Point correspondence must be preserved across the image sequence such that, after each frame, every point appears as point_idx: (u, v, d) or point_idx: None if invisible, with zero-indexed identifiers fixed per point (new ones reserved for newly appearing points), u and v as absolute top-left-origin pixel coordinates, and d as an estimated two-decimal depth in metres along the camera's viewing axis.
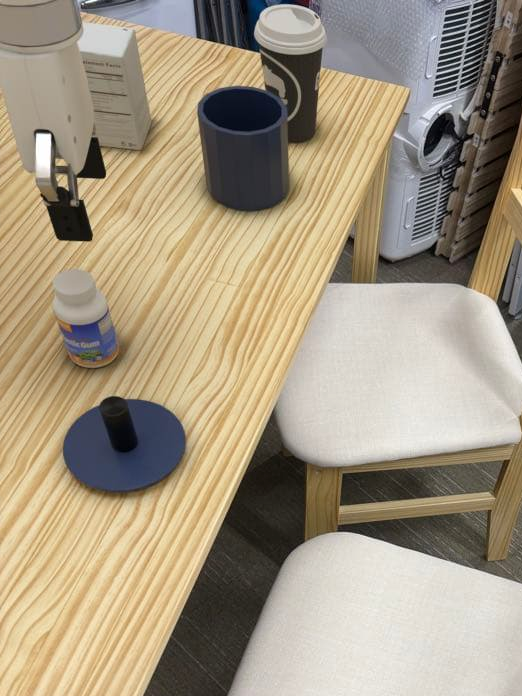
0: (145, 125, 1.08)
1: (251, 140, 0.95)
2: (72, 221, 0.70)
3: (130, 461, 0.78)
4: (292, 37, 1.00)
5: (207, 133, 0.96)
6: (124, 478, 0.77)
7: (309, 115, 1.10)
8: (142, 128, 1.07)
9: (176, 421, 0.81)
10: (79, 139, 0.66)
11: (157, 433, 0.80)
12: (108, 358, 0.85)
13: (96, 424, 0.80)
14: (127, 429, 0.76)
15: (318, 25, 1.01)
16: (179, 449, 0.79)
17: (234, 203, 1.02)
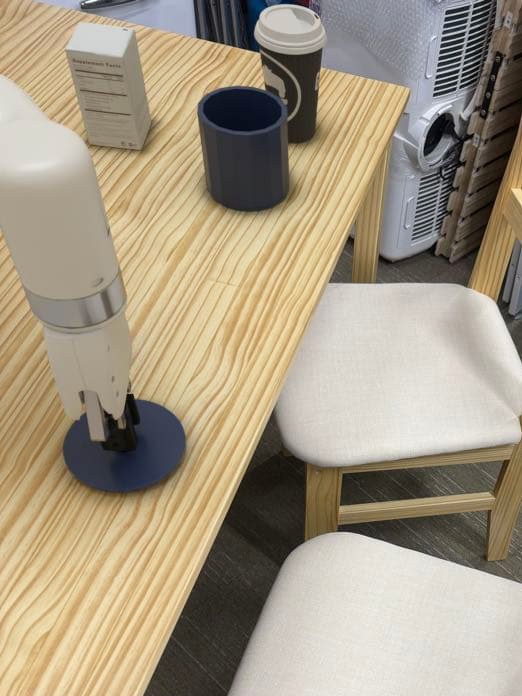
0: (145, 125, 1.08)
1: (251, 140, 0.95)
2: (119, 439, 0.75)
3: (130, 461, 0.78)
4: (292, 37, 1.00)
5: (207, 133, 0.96)
6: (124, 478, 0.77)
7: (309, 115, 1.10)
8: (142, 128, 1.07)
9: (176, 421, 0.81)
10: (121, 389, 0.68)
11: (157, 433, 0.80)
12: None
13: None
14: None
15: (318, 25, 1.01)
16: (179, 449, 0.79)
17: (234, 203, 1.02)
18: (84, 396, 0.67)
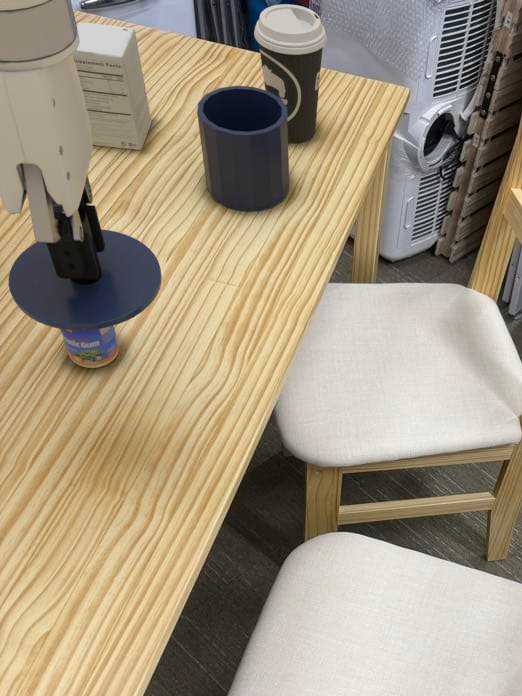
0: (145, 125, 1.08)
1: (251, 140, 0.95)
2: (75, 258, 0.60)
3: (91, 294, 0.63)
4: (292, 37, 1.00)
5: (207, 133, 0.96)
6: (83, 312, 0.62)
7: (309, 115, 1.10)
8: (142, 128, 1.07)
9: (150, 254, 0.66)
10: (74, 174, 0.54)
11: (126, 266, 0.65)
12: (108, 358, 0.85)
13: None
14: None
15: (318, 25, 1.01)
16: (153, 283, 0.65)
17: (234, 203, 1.02)
18: (25, 176, 0.52)
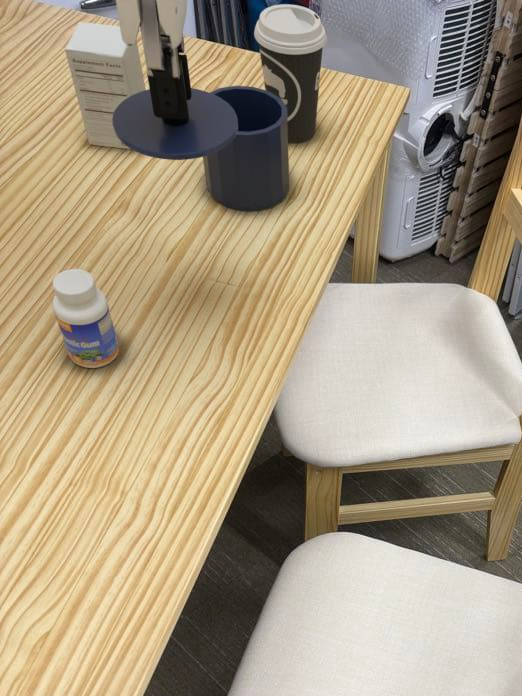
0: None
1: (251, 140, 0.95)
2: (172, 95, 0.72)
3: (181, 133, 0.75)
4: (292, 37, 1.00)
5: None
6: (176, 145, 0.74)
7: (309, 115, 1.10)
8: None
9: (228, 106, 0.79)
10: (179, 11, 0.66)
11: (208, 114, 0.78)
12: (108, 358, 0.85)
13: (146, 103, 0.77)
14: None
15: (318, 25, 1.01)
16: (232, 127, 0.77)
17: (234, 203, 1.02)
18: (142, 8, 0.64)
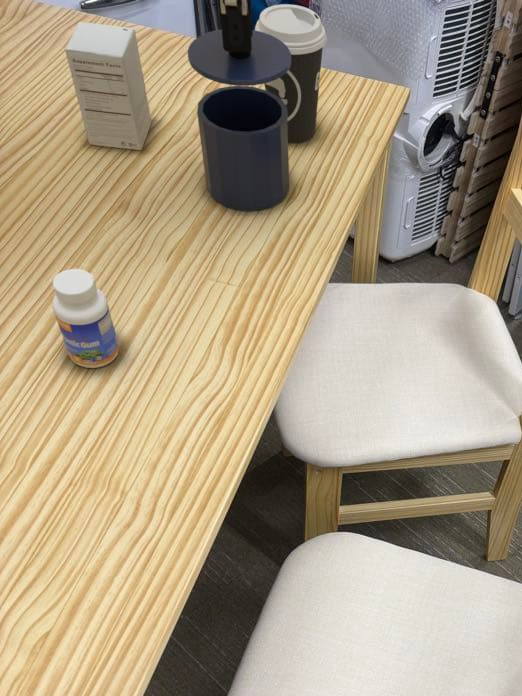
0: (145, 125, 1.08)
1: (251, 140, 0.95)
2: (240, 30, 0.87)
3: (246, 64, 0.90)
4: (292, 37, 1.00)
5: (207, 133, 0.96)
6: (242, 74, 0.89)
7: (309, 115, 1.10)
8: (142, 128, 1.07)
9: (281, 43, 0.94)
10: None
11: (266, 49, 0.93)
12: (108, 358, 0.85)
13: (214, 41, 0.92)
14: None
15: (318, 25, 1.01)
16: (287, 59, 0.92)
17: (234, 203, 1.02)
18: None
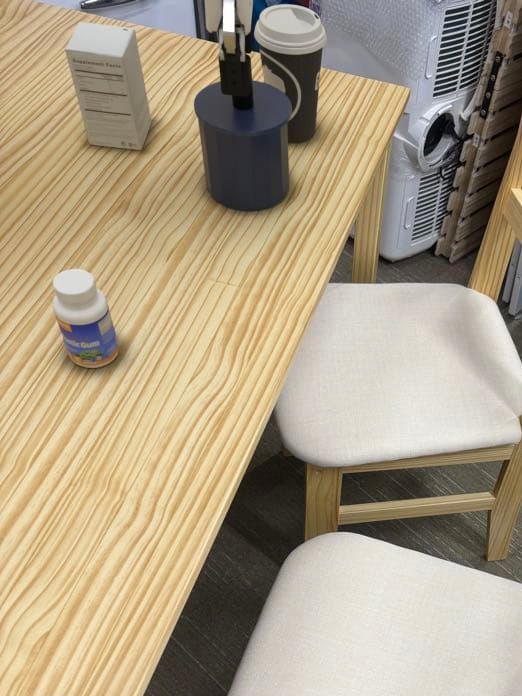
0: (145, 125, 1.08)
1: (251, 140, 0.95)
2: (238, 75, 0.88)
3: (249, 115, 0.95)
4: (292, 37, 1.00)
5: (207, 133, 0.96)
6: (245, 125, 0.94)
7: (309, 115, 1.10)
8: (142, 128, 1.07)
9: (283, 94, 0.99)
10: (251, 5, 0.85)
11: (268, 100, 0.98)
12: (108, 358, 0.85)
13: (218, 92, 0.97)
14: (249, 83, 0.94)
15: (318, 25, 1.01)
16: (287, 110, 0.97)
17: (234, 203, 1.02)
18: None
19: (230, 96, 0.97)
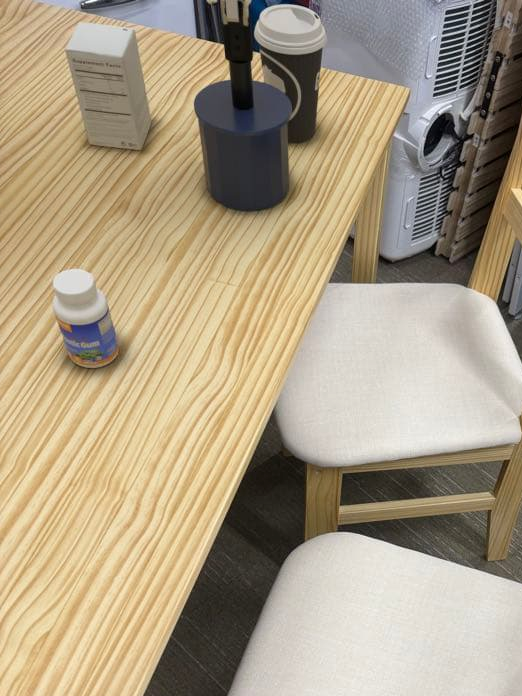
0: (145, 125, 1.08)
1: (251, 140, 0.95)
2: (241, 40, 0.89)
3: (249, 115, 0.95)
4: (292, 37, 1.00)
5: (207, 133, 0.96)
6: (245, 125, 0.94)
7: (309, 115, 1.10)
8: (142, 128, 1.07)
9: (283, 94, 0.99)
10: None
11: (268, 100, 0.98)
12: (108, 358, 0.85)
13: (218, 92, 0.97)
14: (249, 83, 0.94)
15: (318, 25, 1.01)
16: (287, 110, 0.97)
17: (234, 203, 1.02)
18: None
19: (230, 96, 0.97)
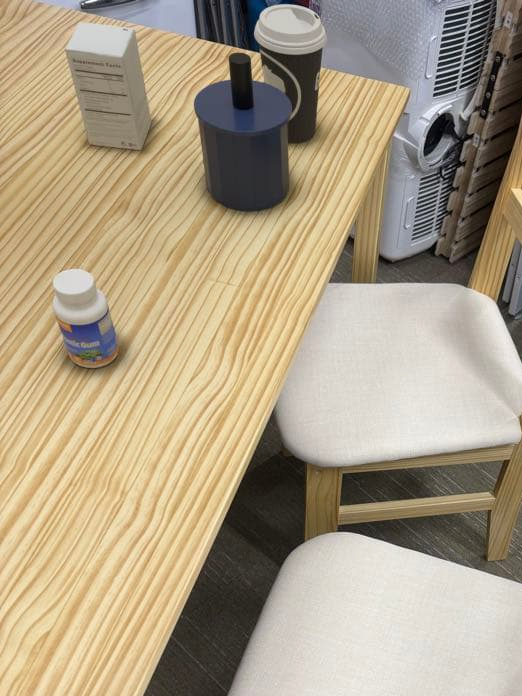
0: (145, 125, 1.08)
1: (251, 140, 0.95)
2: None
3: (249, 115, 0.95)
4: (292, 37, 1.00)
5: (207, 133, 0.96)
6: (245, 125, 0.94)
7: (309, 115, 1.10)
8: (142, 128, 1.07)
9: (283, 94, 0.99)
10: None
11: (268, 100, 0.98)
12: (108, 358, 0.85)
13: (218, 92, 0.97)
14: (249, 83, 0.94)
15: (318, 25, 1.01)
16: (287, 110, 0.97)
17: (234, 203, 1.02)
18: None
19: (230, 96, 0.97)
